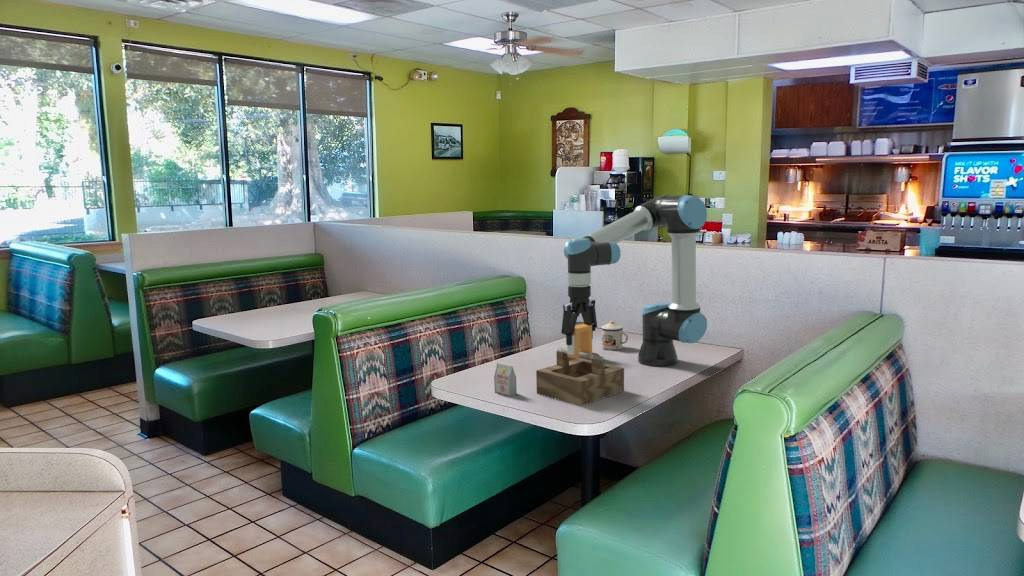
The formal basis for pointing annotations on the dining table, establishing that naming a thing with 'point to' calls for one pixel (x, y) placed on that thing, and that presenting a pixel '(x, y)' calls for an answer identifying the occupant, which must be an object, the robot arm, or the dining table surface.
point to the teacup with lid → (612, 336)
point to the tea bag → (505, 380)
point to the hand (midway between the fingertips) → (579, 351)
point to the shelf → (579, 378)
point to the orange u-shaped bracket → (582, 339)
